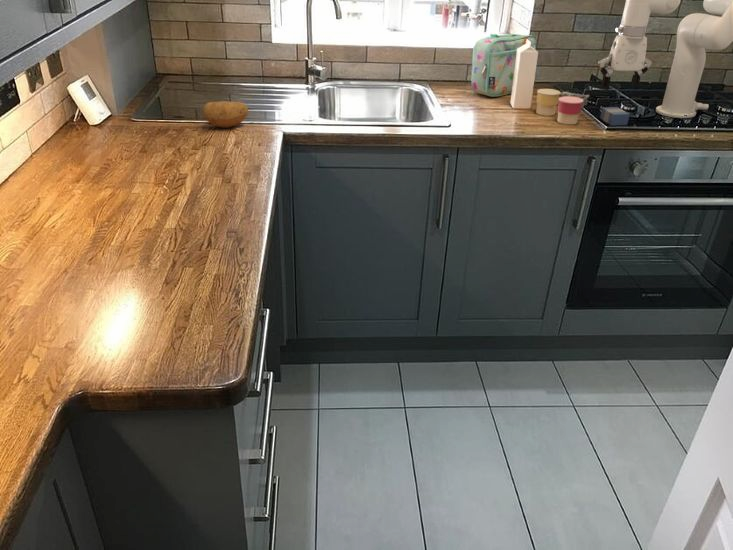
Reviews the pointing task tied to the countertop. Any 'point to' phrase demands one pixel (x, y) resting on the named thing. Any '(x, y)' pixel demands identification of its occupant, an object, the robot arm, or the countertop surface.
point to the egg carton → (575, 96)
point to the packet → (614, 116)
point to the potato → (225, 113)
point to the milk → (524, 76)
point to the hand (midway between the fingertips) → (619, 88)
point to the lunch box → (496, 63)
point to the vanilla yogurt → (547, 101)
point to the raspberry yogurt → (569, 109)
